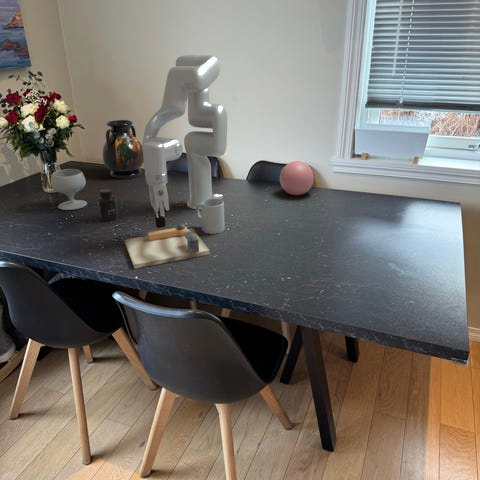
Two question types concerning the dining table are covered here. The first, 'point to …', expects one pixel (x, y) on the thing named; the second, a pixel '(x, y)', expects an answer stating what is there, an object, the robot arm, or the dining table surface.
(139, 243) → the pivot board
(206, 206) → the mug
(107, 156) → the amphora vase
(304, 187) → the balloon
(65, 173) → the chalice
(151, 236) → the link
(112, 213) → the supplement bottle
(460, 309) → the dining table surface
